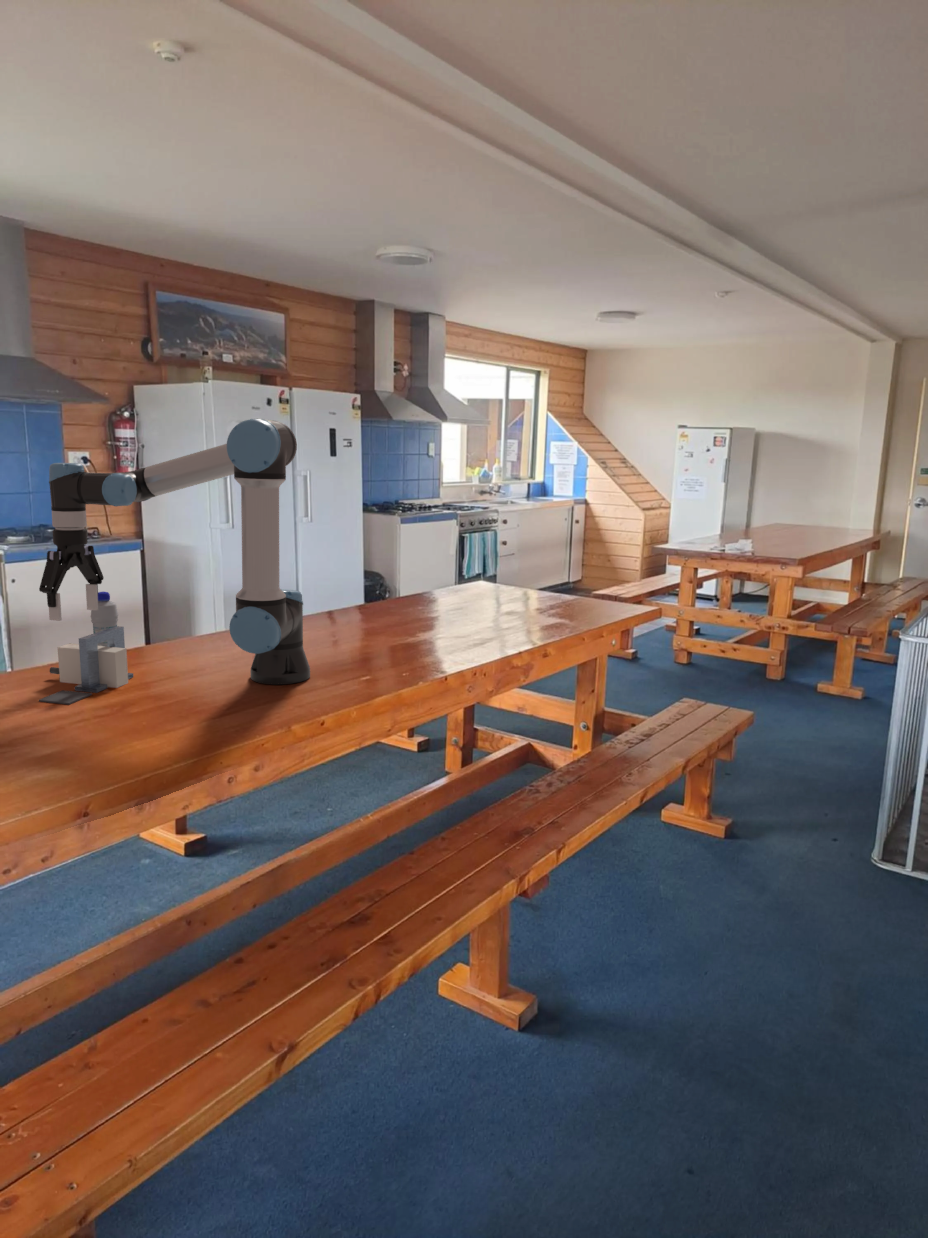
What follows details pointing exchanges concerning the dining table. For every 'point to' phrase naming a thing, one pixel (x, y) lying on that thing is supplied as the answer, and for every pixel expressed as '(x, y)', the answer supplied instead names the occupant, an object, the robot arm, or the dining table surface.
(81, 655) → the blue-grey arch stand
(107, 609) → the bottle
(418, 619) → the dining table surface
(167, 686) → the dining table surface
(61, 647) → the white block
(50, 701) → the mat
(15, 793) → the dining table surface
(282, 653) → the robot arm
